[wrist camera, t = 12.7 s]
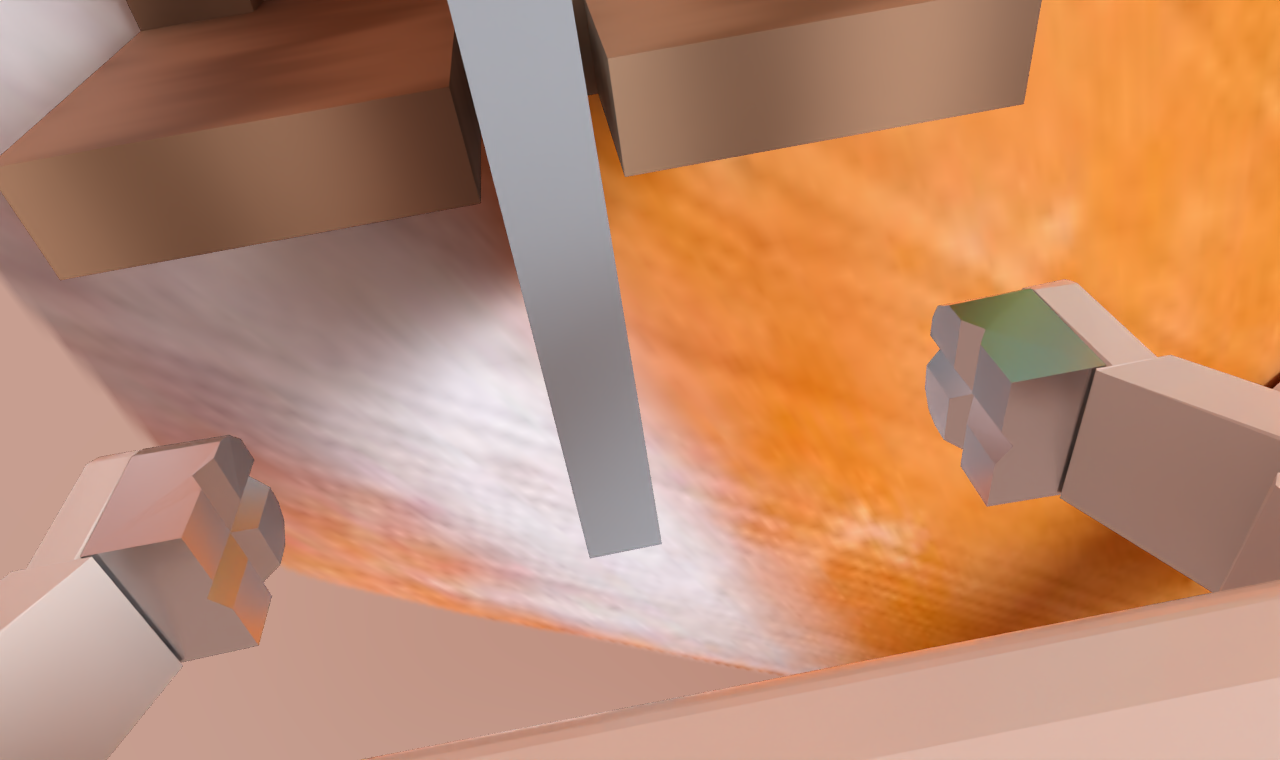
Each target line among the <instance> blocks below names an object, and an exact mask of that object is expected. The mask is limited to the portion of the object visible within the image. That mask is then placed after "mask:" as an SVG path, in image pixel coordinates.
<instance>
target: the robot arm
mask: <svg viewBox="0 0 1280 760" xmlns="http://www.w3.org/2000/svg"><path fill="white" fill-rule="evenodd" d="M930 335H931V337H932V338H933V339H934V341H935V342H936V344H937V345H938V346H939V348H940V350H939V351H938V352H937V354H936V355H935V356H934V357H933V358H932V360H931V361H930V362H929V363H928V364H927V370H926V383H925V390H926V396H927V402H928V408H929V411H930V414H931V416H932V419H933V421H934V424H935V426H936V428H937V429H938V431H939V433H940V434H941V436H942V437H943V439H944V440H945V441H947V442H949V443H951V444H953V445H955V446H957V447H959V448H961V449H963V453H962V460H961V467H962V469H963V470H964V472H965V473H966V475H967V477H968V478H969V480H970V481H971V483H972V484H973V486H974V487H975V489H976V490H977V492H978V493H979V495H980V497H981V498H982V500H983V501H984V503H985V504H986V506H993V505H999V504H1005V503H1011V502H1017V501H1023V500H1029V499H1035V498H1042V497H1048V496H1054V495H1060V494H1061V496H1060V498H1061V499H1063V500H1064V501H1066V502H1067V503H1069V504H1071V505H1072V506H1074V507H1076V508H1077V509H1079V510H1080V511H1082V512H1084V513H1085V514H1087V515H1088V516H1090V517H1092V518H1093V519H1095V520H1097V521H1098V522H1100V523H1101V524H1103V525H1105V526H1106V527H1108V528H1109V529H1111V530H1113V531H1114V532H1116V533H1117V534H1119V535H1121V536H1122V537H1124V538H1126V539H1127V540H1129V541H1130V542H1132V543H1134V544H1135V545H1137V546H1138V547H1140V548H1142V549H1143V550H1145V551H1147V552H1148V553H1150V554H1151V555H1153V556H1155V557H1156V558H1158V559H1159V560H1161V561H1163V562H1164V563H1166V564H1168V565H1169V566H1171V567H1172V568H1174V569H1176V570H1177V571H1179V572H1180V573H1182V574H1184V575H1185V576H1187V577H1188V578H1190V579H1192V580H1193V581H1195V582H1197V583H1198V584H1200V585H1201V586H1203V587H1205V588H1206V589H1208V590H1209V591H1211V592H1213V593H1208V594H1203V595H1198V596H1193V597H1188V598H1183V599H1178V600H1173V601H1168V602H1162V603H1157V604H1152V605H1147V606H1142V607H1137V608H1132V609H1127V610H1122V611H1117V612H1111V613H1106V614H1101V615H1096V616H1091V617H1086V618H1081V619H1076V620H1071V621H1065V622H1060V623H1055V624H1050V625H1045V626H1040V627H1035V628H1030V629H1025V630H1019V631H1014V632H1009V633H1004V634H999V635H994V636H989V637H984V638H979V639H974V640H968V641H963V642H958V643H953V644H948V645H943V646H938V647H933V648H928V649H922V650H917V651H912V652H907V653H902V654H897V655H892V656H887V657H882V658H876V659H871V660H866V661H861V662H856V663H851V664H846V665H841V666H836V667H830V668H825V669H820V670H815V671H810V672H805V673H800V674H795V675H790V676H785V677H780V678H774V679H770V680H765V681H759V682H754V683H749V684H744V685H739V686H734V687H729V688H724V689H719V690H713V691H708V692H703V693H698V694H693V695H688V696H683V697H679V698H673V699H668V700H662V701H657V702H652V703H647V704H642V705H637V706H632V707H627V708H622V709H617V710H612V711H606V712H601V713H596V714H591V715H586V716H581V717H576V718H571V719H566V720H561V721H555V722H550V723H545V724H540V725H535V726H530V727H525V728H520V729H515V730H510V731H504V732H499V733H494V734H489V735H484V736H479V737H474V738H468V739H464V740H459V741H453V742H448V743H443V744H438V745H433V746H428V747H423V748H417V749H412V750H408V751H403V752H397V753H392V754H387V755H381V756H377V757H371V758H367V759H361V760H1280V383H1278V384H1277V385H1276V386H1275V387H1274V388H1273V389H1271V388H1268V387H1265V386H1262V385H1259V384H1256V383H1253V382H1250V381H1247V380H1244V379H1241V378H1238V377H1235V376H1232V375H1229V374H1226V373H1223V372H1220V371H1217V370H1214V369H1211V368H1208V367H1205V366H1202V365H1199V364H1196V363H1193V362H1191V361H1188V360H1185V359H1182V358H1179V357H1176V356H1173V355H1168V356H1162V357H1156V356H1155V355H1154V354H1153V353H1152V352H1151V351H1150V350H1149V349H1148V348H1147V347H1146V346H1144V345H1143V344H1142V343H1141V342H1140V341H1139V340H1138V339H1137V338H1136V337H1135V336H1134V335H1133V334H1132V333H1130V332H1129V331H1128V330H1127V329H1126V328H1125V327H1124V326H1123V325H1122V324H1121V323H1120V322H1119V321H1117V320H1116V319H1115V318H1114V317H1113V316H1112V315H1111V314H1110V313H1109V312H1108V311H1107V310H1106V309H1105V308H1103V307H1102V306H1101V305H1100V304H1099V303H1098V302H1097V301H1096V300H1095V299H1094V298H1093V297H1092V296H1090V295H1089V294H1088V293H1087V292H1086V291H1085V290H1084V289H1083V288H1082V287H1081V286H1080V285H1079V284H1078V283H1076V282H1073V281H1070V280H1066V279H1063V280H1059V281H1054V282H1049V283H1045V284H1040V285H1035V286H1030V287H1026V288H1023V289H1022V290H1018V291H1013V292H1008V293H1002V294H997V295H992V296H986V297H981V298H976V299H970V300H965V301H960V302H954V303H949V304H944V305H939V306H938V307H937V309H936V311H935V313H934V315H933V319H932V326H931V334H930ZM253 462H254V459H253V457H252V456H251V454H250V453H249V451H248V450H247V448H246V446H245V445H244V443H243V442H242V440H241V439H239V438H236V437H233V436H231V435H226V436H220V437H214V438H208V439H201V440H195V441H189V442H183V443H177V444H170V445H164V446H158V447H152V448H146V449H143V450H139V451H138V450H137V451H136V450H135V451H130V452H124V453H118V454H113V455H107V456H101V457H98V458H96V459H95V460H93V461H91V462H89V463H87V464H86V466H85V467H84V469H83V471H82V473H81V474H80V476H79V478H78V480H77V481H76V483H75V485H74V486H73V488H72V490H71V492H70V493H69V495H68V497H67V499H66V500H65V502H64V504H63V506H62V507H61V509H60V511H59V512H58V514H57V516H56V518H55V519H54V521H53V523H52V525H51V526H50V528H49V530H48V531H47V533H46V535H45V537H44V538H43V540H42V542H41V543H40V545H39V547H38V549H37V550H36V552H35V554H34V556H33V557H32V559H31V561H30V562H29V564H28V566H27V568H26V569H22V570H17V571H12V572H10V573H9V574H7V575H6V576H5V577H4V578H2V579H1V580H0V760H107V759H108V758H109V757H110V755H111V754H112V753H113V752H114V750H115V749H116V748H117V747H118V745H119V744H120V743H121V742H122V741H123V739H124V738H125V737H126V736H127V734H128V733H129V732H130V731H131V730H132V728H133V727H134V726H135V724H136V723H137V722H138V721H139V720H140V718H141V717H142V716H143V715H144V714H145V712H146V711H147V710H148V709H149V707H150V706H151V705H152V704H153V702H154V701H155V700H156V699H157V698H158V696H159V695H160V694H161V693H162V691H163V690H164V689H165V687H166V686H167V685H168V684H169V683H170V682H171V680H172V679H173V678H174V677H175V675H176V674H177V673H178V672H179V670H180V669H181V668H182V667H183V666H182V664H181V662H186V661H190V660H195V659H200V658H204V657H209V656H213V655H218V654H222V653H227V652H232V651H236V650H241V649H245V648H250V647H254V646H258V645H259V642H260V638H261V635H262V631H263V628H264V624H265V620H266V617H267V613H268V609H269V606H270V602H271V598H272V596H271V594H270V592H269V591H268V589H267V588H266V586H265V585H264V583H263V582H264V581H265V580H266V579H267V578H268V577H269V576H270V575H271V574H272V573H273V572H274V571H275V570H276V569H277V568H278V567H279V566H280V564H281V560H282V556H283V551H284V547H285V530H284V518H283V515H282V512H281V509H280V506H279V502H278V501H277V499H276V497H275V495H274V493H273V492H272V490H271V488H270V487H269V486H267V485H265V484H263V483H261V482H259V481H257V480H255V479H254V478H252V477H250V476H249V474H250V471H251V468H252V465H253Z"/></svg>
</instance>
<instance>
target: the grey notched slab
mask: <svg viewBox="0 0 1280 760" xmlns="http://www.w3.org/2000/svg"><path fill="white" fill-rule="evenodd" d="M447 1H448V5H449V9H450V13H451V17H452V21H453V24H454V28H455V32H456V36H457V40H458V44H459V48H460V52H461V56H462V60H463V64H464V68H465V71H466V75H467V79H468V83H469V87H470V91H471V95H472V99H473V103H474V107H475V111H476V114H477V118H478V122H479V126H480V130H481V134H482V138H483V142H484V146H485V150H486V154H487V158H488V161H489V165H490V169H491V173H492V177H493V181H494V185H495V189H496V193H497V197H498V201H499V205H500V208H501V212H502V216H503V220H504V224H505V228H506V232H507V236H508V240H509V244H510V248H511V251H512V255H513V259H514V263H515V267H516V271H517V275H518V279H519V283H520V287H521V291H522V295H523V298H524V302H525V306H526V310H527V314H528V318H529V322H530V326H531V330H532V334H533V338H534V342H535V345H536V349H537V353H538V357H539V361H540V365H541V369H542V373H543V377H544V381H545V385H546V389H547V392H548V396H549V400H550V404H551V408H552V412H553V416H554V420H555V424H556V428H557V432H558V435H559V439H560V443H561V447H562V451H563V455H564V459H565V463H566V467H567V471H568V475H569V479H570V482H571V486H572V490H573V494H574V498H575V502H576V506H577V510H578V514H579V518H580V522H581V526H582V529H583V533H584V537H585V541H586V545H587V549H588V553H589V557H590V558H594V557H599V556H604V555H609V554H614V553H619V552H624V551H629V550H634V549H639V548H644V547H649V546H654V545H659V544H662V542H661V536H660V530H659V524H658V518H657V512H656V506H655V500H654V494H653V488H652V482H651V476H650V470H649V464H648V458H647V452H646V446H645V440H644V434H643V428H642V422H641V415H640V409H639V403H638V397H637V391H636V385H635V379H634V373H633V367H632V361H631V355H630V349H629V343H628V337H627V331H626V325H625V319H624V313H623V307H622V301H621V295H620V289H619V283H618V277H617V271H616V265H615V259H614V253H613V247H612V241H611V235H610V229H609V223H608V217H607V210H606V204H605V198H604V192H603V186H602V180H601V174H600V168H599V162H598V156H597V150H596V144H595V138H594V132H593V126H592V120H591V114H590V108H589V102H588V96H587V90H586V84H585V78H584V72H583V66H582V60H581V54H580V48H579V42H578V36H577V30H576V24H575V18H574V12H573V5H572V0H447Z"/></svg>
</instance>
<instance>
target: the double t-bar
mask: <svg viewBox="0 0 1280 760" xmlns="http://www.w3.org/2000/svg"><path fill="white" fill-rule="evenodd" d="M126 1H127V3H128V6H129V8H130V10H131V12H132V14H133V16H134V18H135V20H136V22H137V24H138V26H139V28H140V30H141V32H140V33H138V34H137V35H136V36H135V37H134V38H133V39H132V40H130V41H129V42H128V43H127V44H126V45H125V46H124V47H123V48H121V49H120V50H119V51H118V52H117V53H116V54H115V55H114V56H112V57H111V58H110V59H109V60H108V61H107V62H106V63H105V64H103V65H102V66H101V67H100V68H99V69H98V70H97V71H95V72H94V73H93V74H92V75H91V76H90V77H89V78H88V79H86V80H85V81H84V82H83V83H82V84H81V85H80V86H79V87H77V88H76V89H75V90H74V91H73V92H72V93H71V94H70V95H68V96H67V97H66V98H65V99H64V100H63V101H62V102H60V103H59V104H58V105H57V106H56V107H55V108H54V109H53V110H51V111H50V112H49V113H48V114H47V115H46V116H45V117H44V118H42V119H41V120H40V121H39V122H38V123H37V124H36V125H35V126H33V127H32V128H31V129H30V130H29V131H28V132H27V133H25V134H24V135H23V136H22V137H21V138H20V139H19V140H18V141H16V142H15V143H14V144H13V145H12V146H11V147H10V148H9V149H7V150H6V151H5V152H4V153H3V154H2V155H1V156H0V191H1V193H2V194H3V196H4V197H5V199H6V200H7V201H8V203H9V204H10V206H11V207H12V209H13V210H14V212H15V213H16V215H17V216H18V218H19V219H20V221H21V222H22V224H23V225H24V227H25V228H26V230H27V231H28V233H29V234H30V236H31V237H32V239H33V240H34V242H35V243H36V245H37V246H38V248H39V249H40V251H41V252H42V254H43V255H44V257H45V258H46V260H47V261H48V263H49V264H50V266H51V267H52V269H53V270H54V272H55V273H56V275H57V276H58V278H59V279H60V280H64V279H70V278H75V277H81V276H86V275H92V274H97V273H103V272H108V271H114V270H119V269H125V268H130V267H136V266H141V265H146V264H152V263H157V262H163V261H168V260H174V259H179V258H185V257H190V256H196V255H201V254H207V253H212V252H218V251H223V250H228V249H234V248H239V247H245V246H250V245H256V244H261V243H267V242H272V241H278V240H283V239H289V238H294V237H300V236H305V235H310V234H316V233H321V232H327V231H332V230H338V229H343V228H349V227H354V226H360V225H365V224H371V223H376V222H382V221H387V220H392V219H398V218H403V217H409V216H414V215H420V214H425V213H431V212H436V211H442V210H447V209H453V208H458V207H464V206H469V205H474V204H480V203H481V130H480V126H479V122H478V118H477V114H476V111H475V107H474V103H473V99H472V95H471V91H470V87H469V83H468V79H467V75H466V71H465V68H464V64H463V60H462V56H461V52H460V48H459V44H458V40H457V36H456V32H455V28H454V24H453V21H452V17H451V13H450V9H449V5H448V1H447V0H126ZM1041 1H1042V0H572V5H573V12H574V18H575V24H576V30H577V36H578V42H579V48H580V54H581V60H582V66H583V72H584V78H585V84H586V90H587V95H593V94H599V97H600V100H601V103H602V107H603V110H604V113H605V116H606V119H607V122H608V125H609V128H610V132H611V135H612V138H613V141H614V144H615V147H616V150H617V153H618V157H619V160H620V163H621V166H622V169H623V172H624V175H625V177H627V176H633V175H638V174H644V173H649V172H655V171H660V170H666V169H671V168H677V167H682V166H688V165H693V164H699V163H704V162H709V161H715V160H720V159H726V158H731V157H737V156H742V155H748V154H753V153H759V152H764V151H770V150H775V149H781V148H786V147H791V146H797V145H802V144H808V143H813V142H819V141H824V140H830V139H835V138H841V137H846V136H852V135H857V134H863V133H868V132H873V131H879V130H884V129H890V128H895V127H901V126H906V125H912V124H917V123H923V122H928V121H934V120H939V119H945V118H950V117H955V116H961V115H966V114H972V113H977V112H983V111H988V110H994V109H999V108H1005V107H1010V106H1016V105H1021V104H1024V99H1025V94H1026V88H1027V82H1028V76H1029V71H1030V65H1031V59H1032V53H1033V47H1034V42H1035V36H1036V30H1037V24H1038V19H1039V13H1040V7H1041Z"/></svg>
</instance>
